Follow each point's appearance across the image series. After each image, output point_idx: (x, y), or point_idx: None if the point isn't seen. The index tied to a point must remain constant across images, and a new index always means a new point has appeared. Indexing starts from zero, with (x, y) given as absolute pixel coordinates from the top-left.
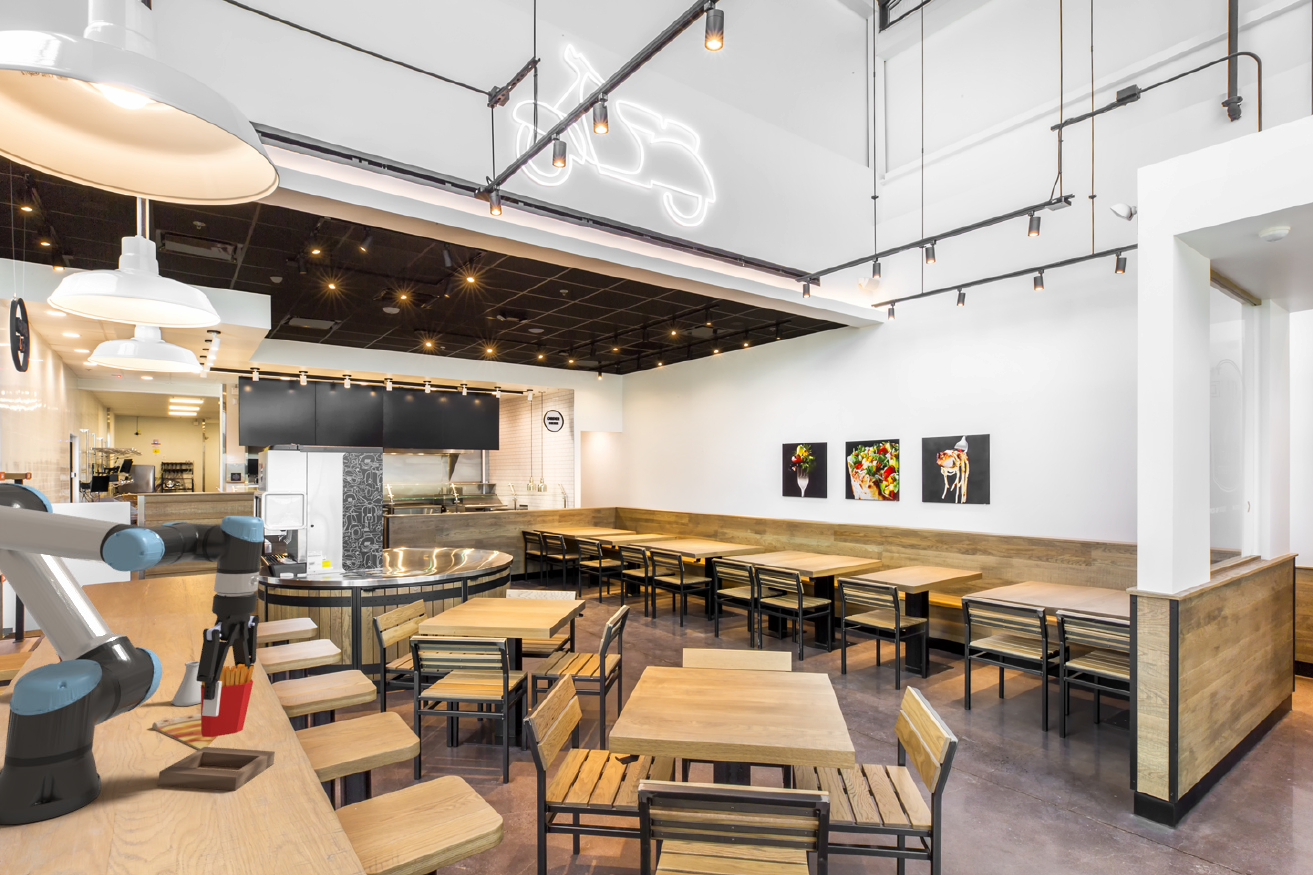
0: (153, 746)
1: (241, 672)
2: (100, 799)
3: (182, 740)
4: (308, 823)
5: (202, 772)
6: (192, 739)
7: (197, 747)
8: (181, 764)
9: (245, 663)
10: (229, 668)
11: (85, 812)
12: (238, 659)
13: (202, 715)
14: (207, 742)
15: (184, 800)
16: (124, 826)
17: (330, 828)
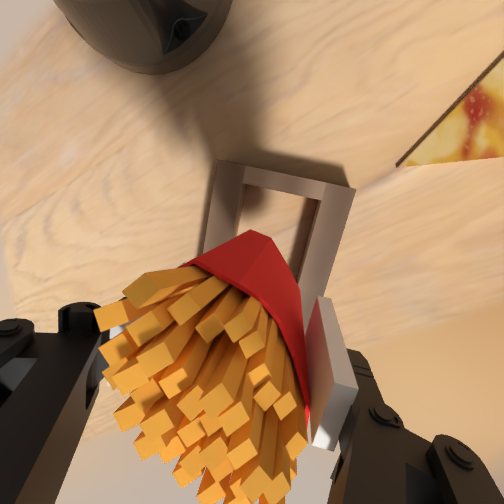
0: (463, 12)
1: (205, 470)
2: (167, 84)
3: (484, 77)
4: (113, 411)
5: (212, 246)
6: (486, 102)
7: (419, 144)
8: (255, 185)
9: (330, 490)
10: (207, 433)
11: (120, 91)
12: (338, 485)
13: (184, 263)
14: (452, 154)
15: (167, 237)
16: (85, 189)
17: (104, 434)
